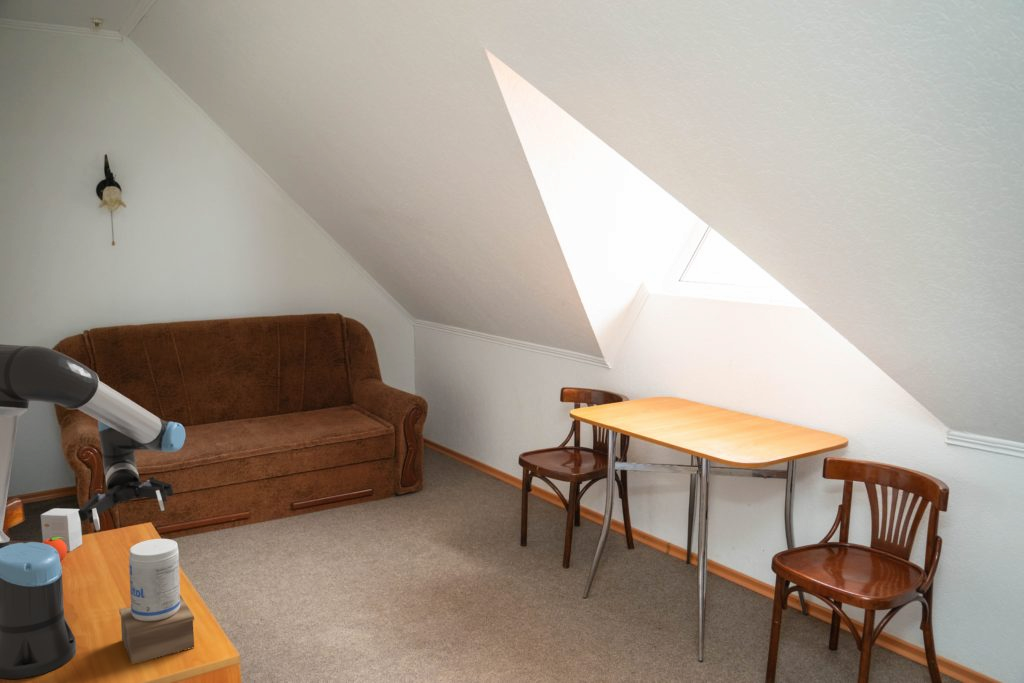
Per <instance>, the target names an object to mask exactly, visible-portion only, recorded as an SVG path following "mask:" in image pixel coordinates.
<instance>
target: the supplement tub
mask: <svg viewBox="0 0 1024 683" xmlns="http://www.w3.org/2000/svg"><path fill="white" fill-rule="evenodd" d="M128 558H129V559H128V568H129V570H128V571H129V590H130V592H129V593H130V607H131V613H132V616H133V617H134V618H135V619H137V620H140V621H158V620H162V619H165V618H168V617H170V616H172V615H174V614H175V613H176V612H177V611H178V610H179V608H180V595H181V587H180V586H181V583H180V580H181V579H180V555H179V547H178V543H177V541H175V540H174V539H169V538H154V539H153V538H152V539H148V540H142V541H140V542H138V543H136V544H135V545H132V546H131V547H130V549H129V556H128Z"/></svg>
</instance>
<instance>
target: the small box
mask: <svg viewBox="0 0 1024 683" xmlns="http://www.w3.org/2000/svg"><path fill="white" fill-rule="evenodd" d="M79 510H80V508H59V507H57V508H51V509H49V510H48V511H45V512H43V513H41V514H40V521H41V522H40V525H41V534H42V536H41V537H42V542H44V541H45V540H47V539H50V538H55V537H63V538H58V539H61V540H62V541H64V542H65V544H66V546H67V553H68V552H69V553H70V552H72V551H74V550H75V549H77V548H79V547H80V546H81V545H83V535H82V534H83V533H82V524H81V522H82V521H81V520H80V517H79V513H78V511H79ZM65 538H66V539H65ZM67 540H68V541H69V542H68V541H67Z"/></svg>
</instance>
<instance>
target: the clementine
mask: <svg viewBox="0 0 1024 683" xmlns="http://www.w3.org/2000/svg"><path fill="white" fill-rule="evenodd" d="M58 538H63V537H55V538H50V539H47V540H45V541H44V542H43V541H42V542H41V543H44V544H47V545H50V546H52V547H54V548H55V549H56V550H57V551H58V553H59V557H60V563H61V562H62V561H63V560H64V559H65V558H66V556H67V553H68V552H67V546H66V544H65V542H64V541H62V540H61V539H58ZM65 539H66V538H65ZM67 541H68V540H67ZM68 542H69V541H68Z"/></svg>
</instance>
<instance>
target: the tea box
mask: <svg viewBox="0 0 1024 683" xmlns="http://www.w3.org/2000/svg"><path fill="white" fill-rule="evenodd" d="M118 611H119V612H118V613H119V615H120V623H121V624H120V626H121V641H122V640H123V641H122V643H123V645H124V648H125V650H127V651H126V653H127V655H128V658H129V660H130V662H132V663H131V664H133V665H135V664H134V663H137V664H139V663H138V662H140V663H143V662H142V661H144V662H146V660H148V661H150V660H149V659H151V660H154V659H153V658H155V659H158V658H157V657H159V658H161V657H160V656H162V657H165V656H164V655H166V656H168V655H167V654H170V655H172V654H171V653H173V654H176V653H175V652H177V653H179V652H178V651H181V652H183V651H182V650H184V649H188V648H191V649H193V648H192V647H194V648H195V634H194V621H195V616H194V614H193V613H192V611H191V609H190V608H189V606H188V604H187V603H186V602H185V600H184V599H183V597H182V595H181V594H180V608H179V610H178V611H177V612H176V613H175V614H174V615H172V616H170V617H168V618H165V619H162V620H158V621H140V620H137V619H135V618H134V617H133V616H132V613H131V606H128V607H123V608H119V609H118ZM188 650H189V649H188ZM184 651H185V650H184Z"/></svg>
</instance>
